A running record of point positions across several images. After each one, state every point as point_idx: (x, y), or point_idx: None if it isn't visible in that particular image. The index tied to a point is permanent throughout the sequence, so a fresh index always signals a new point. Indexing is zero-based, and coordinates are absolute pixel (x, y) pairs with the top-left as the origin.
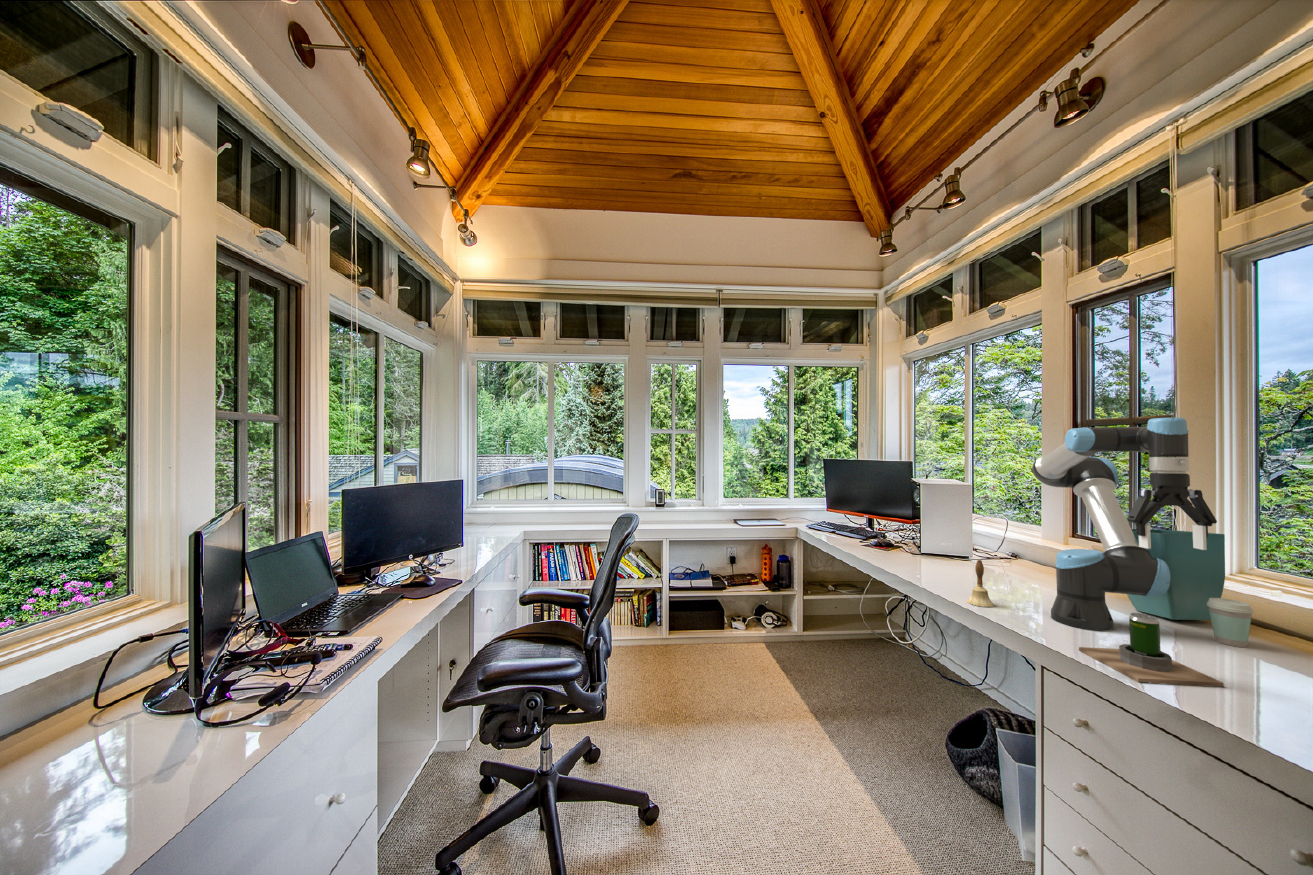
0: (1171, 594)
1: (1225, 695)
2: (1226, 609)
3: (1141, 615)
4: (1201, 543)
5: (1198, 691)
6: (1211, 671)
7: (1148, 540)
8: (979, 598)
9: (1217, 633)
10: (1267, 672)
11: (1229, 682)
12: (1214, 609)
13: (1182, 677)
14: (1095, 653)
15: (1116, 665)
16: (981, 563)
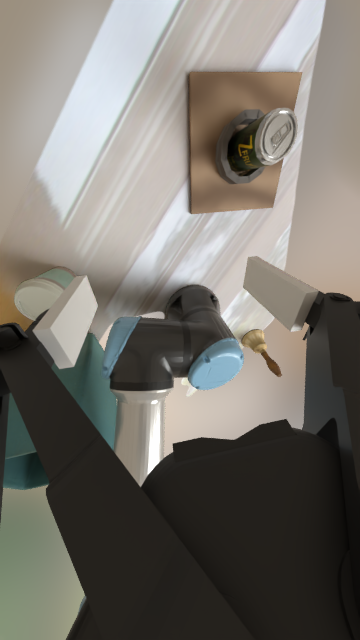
0: (87, 349)
1: (214, 26)
2: (55, 286)
3: (271, 150)
4: (82, 290)
5: (241, 42)
6: (158, 154)
7: (269, 265)
8: (261, 337)
9: None
10: (81, 166)
11: (165, 103)
12: None
13: (234, 90)
14: (272, 184)
15: None
16: (277, 371)
